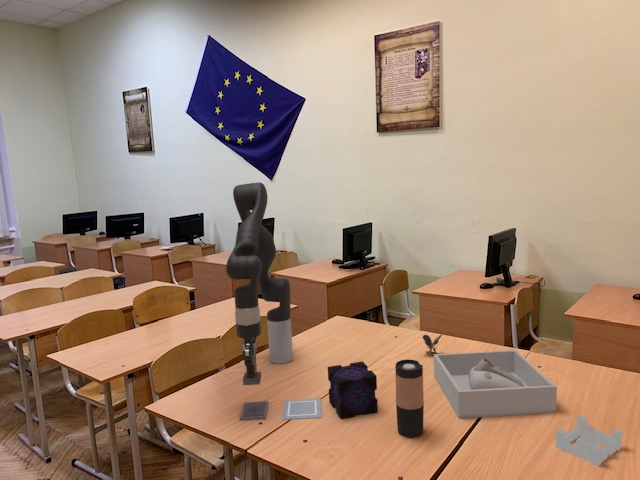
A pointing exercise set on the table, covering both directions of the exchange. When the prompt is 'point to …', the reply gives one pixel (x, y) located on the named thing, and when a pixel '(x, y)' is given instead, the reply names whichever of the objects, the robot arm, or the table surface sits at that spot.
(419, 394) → the travel mug
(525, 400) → the grey open tray
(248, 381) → the stamp
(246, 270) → the robot arm
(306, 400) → the mat
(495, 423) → the table surface
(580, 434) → the castle model
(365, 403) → the energy cube
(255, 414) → the pad
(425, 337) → the eagle figurine
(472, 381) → the grey curved piece
